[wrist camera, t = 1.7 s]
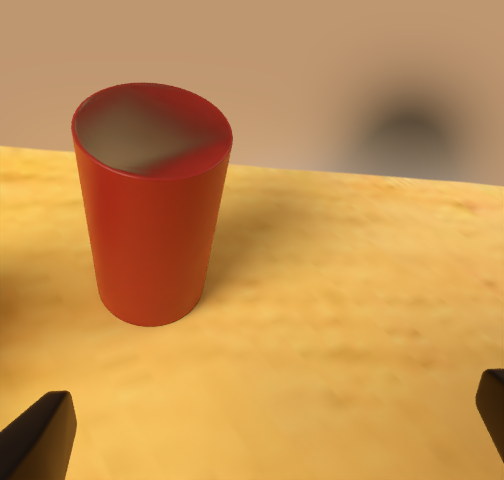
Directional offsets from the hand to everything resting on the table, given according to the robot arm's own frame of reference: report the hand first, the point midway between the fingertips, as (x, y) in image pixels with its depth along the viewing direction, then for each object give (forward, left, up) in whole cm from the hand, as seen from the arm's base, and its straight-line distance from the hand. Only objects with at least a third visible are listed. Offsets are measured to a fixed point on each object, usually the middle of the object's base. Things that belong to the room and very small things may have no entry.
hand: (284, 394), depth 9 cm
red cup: (+6, +11, -14) cm, 19 cm away
